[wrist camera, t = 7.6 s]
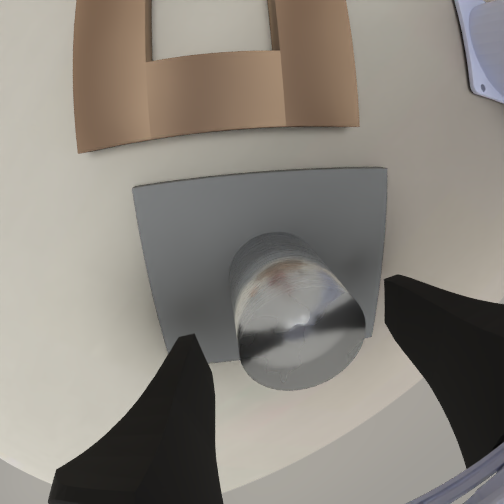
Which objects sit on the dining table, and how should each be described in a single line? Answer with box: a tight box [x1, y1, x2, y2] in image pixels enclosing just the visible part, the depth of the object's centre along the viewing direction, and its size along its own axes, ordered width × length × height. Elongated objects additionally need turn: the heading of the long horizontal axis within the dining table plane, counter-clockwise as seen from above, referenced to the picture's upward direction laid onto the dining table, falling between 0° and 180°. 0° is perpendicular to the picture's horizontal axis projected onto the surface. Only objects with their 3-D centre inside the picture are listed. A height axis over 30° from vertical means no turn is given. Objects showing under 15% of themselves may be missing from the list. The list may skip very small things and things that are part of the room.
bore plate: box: [73, 0, 360, 154], centre depth 10 cm, size 12×12×2 cm
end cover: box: [229, 232, 366, 391], centre depth 12 cm, size 4×4×6 cm
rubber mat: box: [132, 167, 387, 363], centre depth 15 cm, size 12×10×1 cm
